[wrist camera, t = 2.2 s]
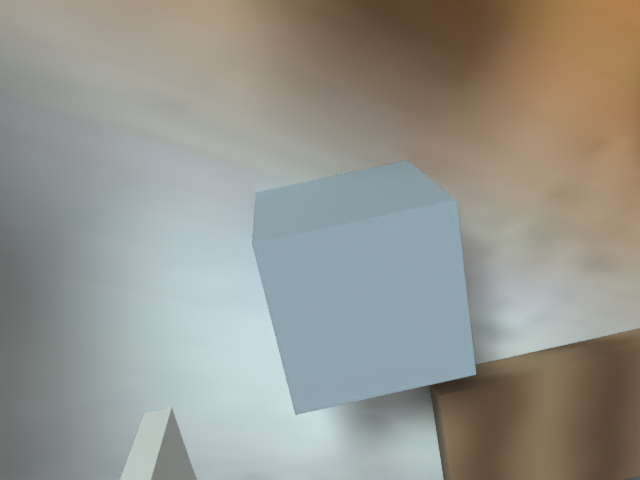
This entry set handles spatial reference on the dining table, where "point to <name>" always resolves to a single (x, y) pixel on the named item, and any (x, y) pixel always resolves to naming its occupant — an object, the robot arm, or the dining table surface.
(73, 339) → the dining table surface
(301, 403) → the cube
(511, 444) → the board
